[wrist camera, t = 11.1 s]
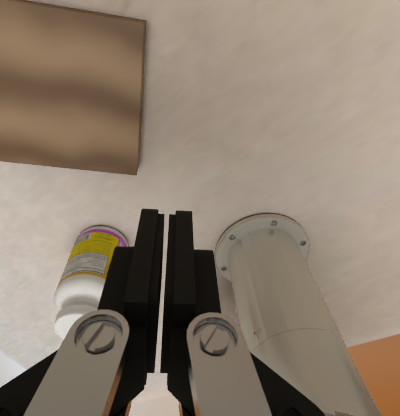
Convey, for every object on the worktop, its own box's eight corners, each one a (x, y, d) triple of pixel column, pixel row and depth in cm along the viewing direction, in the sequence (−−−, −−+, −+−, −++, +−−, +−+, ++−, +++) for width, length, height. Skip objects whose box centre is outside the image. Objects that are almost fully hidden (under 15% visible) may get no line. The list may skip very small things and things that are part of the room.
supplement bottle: (126, 265, 44) (110, 352, 33) (76, 259, 43) (43, 347, 32) (132, 227, 40) (116, 311, 30) (77, 219, 39) (40, 304, 29)
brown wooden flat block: (138, 164, 36) (136, 175, 34) (-17, 147, 33) (-29, 158, 31) (146, 20, 28) (143, 22, 26) (-55, -13, 26) (-74, -14, 24)
